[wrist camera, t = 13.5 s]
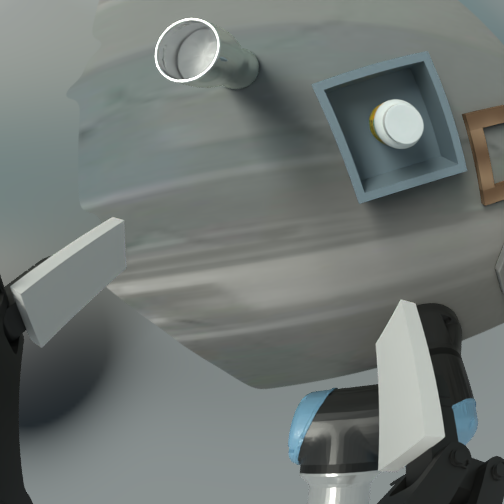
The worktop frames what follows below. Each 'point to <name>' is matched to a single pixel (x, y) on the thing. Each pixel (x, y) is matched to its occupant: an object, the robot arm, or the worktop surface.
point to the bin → (381, 155)
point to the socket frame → (484, 151)
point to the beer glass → (204, 56)
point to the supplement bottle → (396, 124)
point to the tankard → (500, 269)
